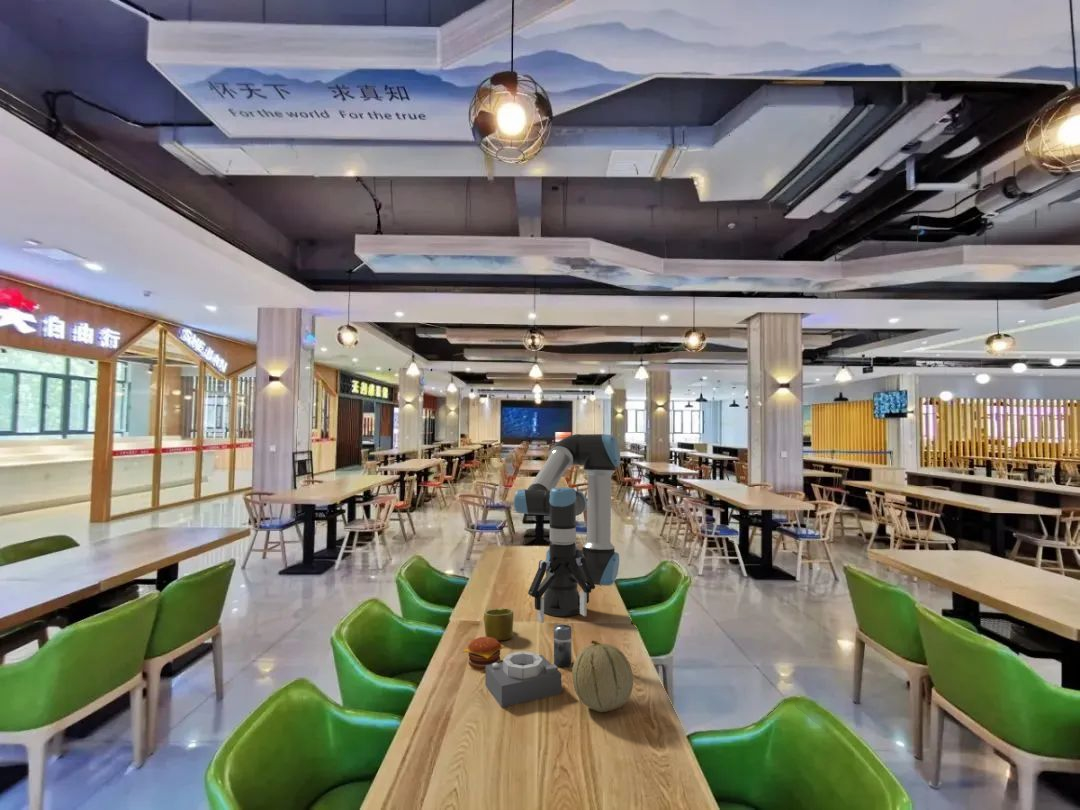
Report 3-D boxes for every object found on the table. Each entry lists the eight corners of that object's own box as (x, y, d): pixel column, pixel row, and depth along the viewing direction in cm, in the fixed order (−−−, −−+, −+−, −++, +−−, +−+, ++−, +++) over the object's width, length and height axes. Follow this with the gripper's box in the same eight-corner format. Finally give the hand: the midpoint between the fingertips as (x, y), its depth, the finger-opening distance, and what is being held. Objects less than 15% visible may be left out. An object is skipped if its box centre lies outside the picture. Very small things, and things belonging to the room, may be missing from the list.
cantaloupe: (618, 732, 116) (618, 662, 117) (560, 713, 124) (560, 647, 124) (643, 702, 128) (642, 639, 129) (589, 686, 136) (588, 627, 137)
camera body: (541, 673, 143) (541, 645, 144) (561, 693, 133) (561, 663, 133) (485, 685, 137) (485, 655, 137) (501, 707, 126) (501, 675, 126)
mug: (513, 639, 162) (505, 606, 165) (483, 647, 164) (475, 614, 167) (524, 632, 173) (517, 601, 176) (496, 640, 175) (489, 609, 178)
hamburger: (489, 672, 144) (489, 648, 144) (461, 665, 149) (461, 641, 149) (507, 659, 152) (507, 636, 153) (480, 653, 157) (480, 630, 157)
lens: (566, 658, 153) (566, 622, 153) (574, 665, 148) (574, 628, 149) (550, 661, 151) (550, 625, 151) (558, 669, 146) (558, 631, 147)
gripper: (593, 536, 160) (593, 608, 158) (517, 543, 149) (516, 619, 148) (606, 541, 153) (606, 616, 152) (527, 548, 142) (527, 628, 141)
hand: (562, 618), depth 150 cm, fingers open, 13 cm apart
